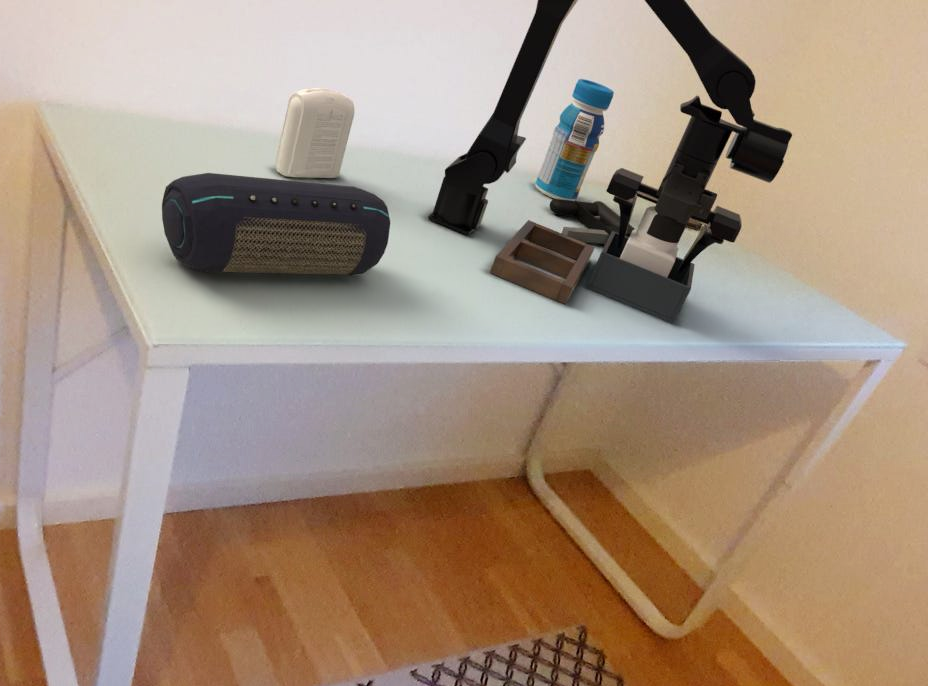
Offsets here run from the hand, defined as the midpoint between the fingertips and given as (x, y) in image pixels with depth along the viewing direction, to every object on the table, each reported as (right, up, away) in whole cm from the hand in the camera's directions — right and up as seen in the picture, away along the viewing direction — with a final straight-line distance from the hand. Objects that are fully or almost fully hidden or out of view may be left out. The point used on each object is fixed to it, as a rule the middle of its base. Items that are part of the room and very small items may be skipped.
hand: (648, 259), depth 122 cm
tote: (-2, -4, +3) cm, 5 cm away
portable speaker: (-48, -6, -27) cm, 56 cm away
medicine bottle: (-2, -4, +3) cm, 5 cm away
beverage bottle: (-9, +18, +35) cm, 40 cm away
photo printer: (-50, +13, +2) cm, 51 cm away
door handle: (-5, +7, +20) cm, 22 cm away
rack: (-15, -1, 0) cm, 15 cm away
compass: (+19, +16, +48) cm, 54 cm away
